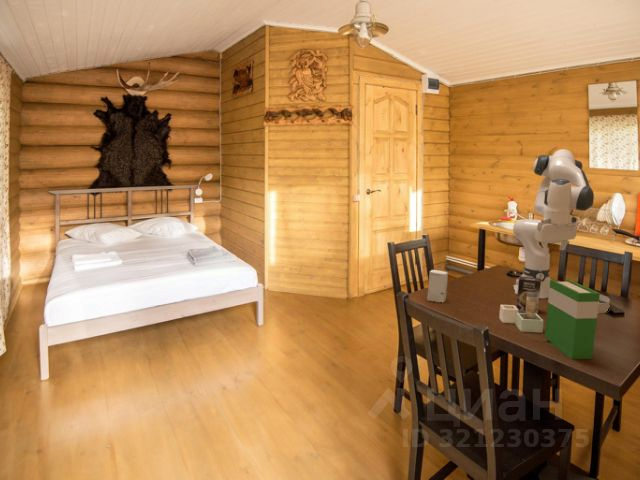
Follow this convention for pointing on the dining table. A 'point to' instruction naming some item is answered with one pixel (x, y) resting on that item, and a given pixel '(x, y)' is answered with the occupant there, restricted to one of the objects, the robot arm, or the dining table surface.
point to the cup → (508, 313)
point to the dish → (603, 304)
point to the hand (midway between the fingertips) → (554, 250)
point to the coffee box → (523, 288)
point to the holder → (529, 323)
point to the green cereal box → (572, 318)
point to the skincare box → (437, 286)
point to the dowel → (530, 305)
